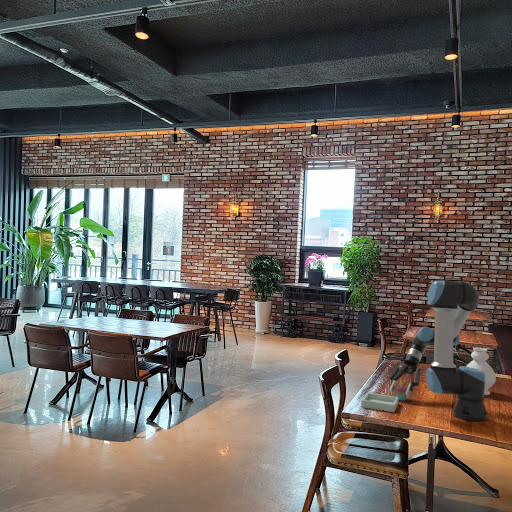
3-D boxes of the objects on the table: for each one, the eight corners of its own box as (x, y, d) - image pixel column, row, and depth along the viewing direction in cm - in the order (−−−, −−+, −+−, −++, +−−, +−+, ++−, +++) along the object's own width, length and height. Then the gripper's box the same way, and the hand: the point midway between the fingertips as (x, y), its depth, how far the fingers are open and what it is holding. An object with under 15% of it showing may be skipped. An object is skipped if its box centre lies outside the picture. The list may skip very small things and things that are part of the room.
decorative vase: (458, 386, 305) (460, 344, 305) (490, 389, 301) (492, 347, 301) (464, 394, 288) (466, 350, 287) (498, 397, 284) (500, 352, 284)
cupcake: (406, 402, 266) (408, 379, 266) (390, 399, 270) (391, 376, 270) (411, 398, 273) (412, 376, 273) (395, 395, 278) (396, 373, 278)
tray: (394, 412, 248) (394, 405, 248) (361, 407, 254) (361, 400, 254) (398, 403, 262) (398, 397, 262) (366, 399, 268) (367, 392, 268)
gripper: (433, 366, 276) (419, 401, 264) (396, 360, 290) (382, 393, 278) (430, 358, 272) (416, 393, 260) (393, 351, 286) (378, 385, 274)
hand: (398, 393), depth 269 cm, fingers closed on cupcake, 8 cm apart
